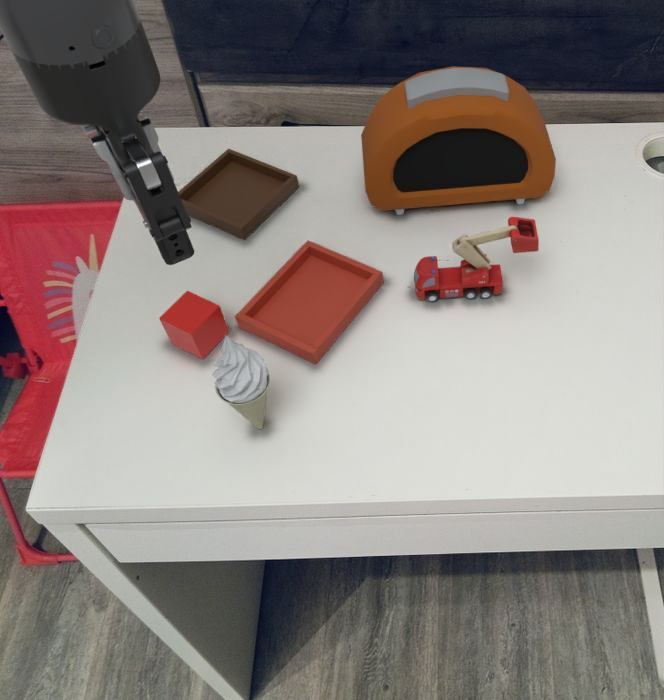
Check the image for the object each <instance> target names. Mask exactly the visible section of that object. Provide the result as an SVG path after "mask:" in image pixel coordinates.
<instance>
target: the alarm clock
mask: <svg viewBox="0 0 664 700" xmlns="http://www.w3.org/2000/svg"><path fill="white" fill-rule="evenodd" d="M360 137H361V148H362V149H361V150H362V163H363V165H362V166H363V178H364V191H365V192H364V193H365V194H366V197H367V199H368V201H369V204H370V206H371V207H373V208H376V209H378V210H380V211H393V210H394V212H395V213H396V215H397V216H400V215H404V213H405V210H406V209H407V210H408V209H418V208H429V207H431V208H432V207H441V206H453V205H454V206H455V205H463V204H464V205H466V204H478V203H488V202H499V201H502V202H503V201H511V200H512V201H513V200H515V202H516V205H517V206H518V205H524V203H525V201H526V199H535V198H541V197H542V196H544V195H545V194H546V193H548V192H550V190H551V187H552V185H553V182H554V179H555V176H556V160H557V159H556V155H555V151H554V149H553V144H552V142H551V138H550V134H549V133H548V129H547V125H546V122H545V119H544V117H543V115H542V113H541V111H540V109H539V107H538V104H537V102H536V101H535V100H534V98H533V97H532V95H531V94H530V93H529V91H528V90H527V89H526V87H525V86H524V85H522V84H520V83H518V82H517V81H515V80H514V79H512V78H511V77H509V76H508V75H505V74H503V73H500V72H498V71H495V70H492V69H490V68H487V67H473V66H447V67H443V68H437V69H433V70H432V69H431V70H426V71H420V72H418V73H416V74H414V75H413V76H410V77H408V78H407V79H405V80H403V81H401V82H399V83H398V84H396V85H395V86H393V87H392V88H391V89H390V90H388V91H387V92H385V93H384V94H382V96H381V97H380V99H379V100H378V101H377V102H376V104H375V105H374V107H373V108H372V110H371V111H370V113H369V115H368V118H367V120H366V123H365V125H364V127H363V130H362V132H361V135H360Z"/></svg>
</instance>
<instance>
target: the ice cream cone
mask: <svg viewBox="0 0 664 700" xmlns="http://www.w3.org/2000/svg"><path fill="white" fill-rule="evenodd" d="M219 351H220V352H221V354H220V355H219V356H218V357H217V360H216V361H215V362H214V363H213V366H214V367H217V368H216V369H215V370H213V371H212V372H211V375H212V377H214V378H215V382H214V384H215V386H214V389H215V392H216V395H217V396H218V397H219V399H220V400H222V401H223V402H224V403H226V404H228V405H229V406H230V407H231V408H233V409H234V410H235V411H236V412H237V413H238V414H240V415H241V416H242V417H244V418H245V419H246V420H247V421H249V422H250V423H251V424H252V425H253V426H255V427H256V428H257V429H258V430H262V429H263V428H264V422H265V415H266V414H265V413H266V407H267V398H268V396H267V395H268V390H269V386H270V381H271V376H270V373H269V372H270V371H269V368H268V367H267V364H266V362H265V360H264V358H263V357H262V356H261V354H259V352H258V351H256V350H254V349H251V348H249V347H245V346H244V344H243V343H240V342H236V341H235V340H233V339H232V338H230V337H229V336H227V335H225V337H224V338H223V343H222V347H221V348H220V350H219Z"/></svg>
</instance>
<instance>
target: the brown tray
mask: <svg viewBox="0 0 664 700" xmlns="http://www.w3.org/2000/svg"><path fill="white" fill-rule="evenodd" d="M298 179H299V178H298V175H297V174H294V173H292V172H289V171H287V170H284V169H282V168H279V167H277V166H274V165H271V164H269V163H266V162H265V161H261V160H259V159H256V158H254V157H251V156H249V155H246V154H243V153H241V152H239V151H236V150H234V149H231V148H227V149H226V150H225V151H223V153H221V154H220V155H219V156H217V158H216V159H214V160H213V161H211V163H210V164H209V165H207V167H205V168H204V169H203V170H201V172H199V173H198V174H197V175H196V176H195V177H193V178H192V179H191V180H190V181H189V182H188V183H187V184H186V185H184V186H183V187H182V188H181V189H180V190H178V193H179V196H180V198H181V201H182V203H183V206H184V208H185V211H186V213H187V215H189V217H190V218H194V219H195V220H198V221H201V222H203V223H205V224H207V225H209V226H212V227H214V228H217V229H219V230H221V231H224V232H226V233H228V234H230V235H233V236H235V237H237V238H240V239H242V240H244V241H245V240H247V238H249V237H250V236H251V234H252V233H254V232H255V231H256V230H257V229H258V228H259V227H260V226H261V225H262V224H263V223H264V222H265V221H266V220H268V218H270V216H271V215H272V214H273V213H274V212H275V211H277V209H279V207H280V206H282V204H283V203H284V202H285V201H286V200H288V199H289V198H290V196H291V195H292V194H294V193H295V191H297V190H298V189H299V188H300V184H299V180H298Z"/></svg>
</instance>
